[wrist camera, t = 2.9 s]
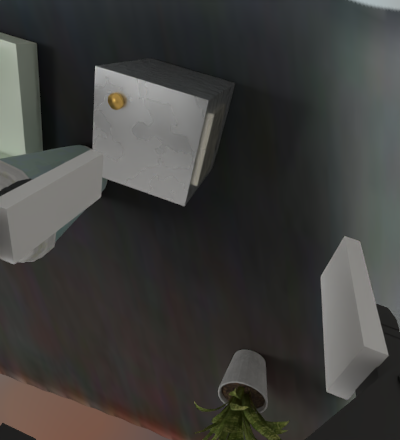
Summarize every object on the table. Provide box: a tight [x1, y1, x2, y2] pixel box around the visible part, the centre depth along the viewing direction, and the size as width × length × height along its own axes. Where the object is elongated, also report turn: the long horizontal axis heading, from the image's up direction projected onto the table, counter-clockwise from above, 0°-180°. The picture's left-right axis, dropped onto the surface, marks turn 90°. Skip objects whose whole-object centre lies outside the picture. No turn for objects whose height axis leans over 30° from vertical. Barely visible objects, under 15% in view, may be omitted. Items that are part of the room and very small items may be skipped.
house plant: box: [194, 350, 290, 440], centre depth 44 cm, size 14×14×16 cm
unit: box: [92, 58, 235, 206], centre depth 30 cm, size 10×9×10 cm
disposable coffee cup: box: [0, 145, 108, 263], centre depth 35 cm, size 11×11×15 cm
